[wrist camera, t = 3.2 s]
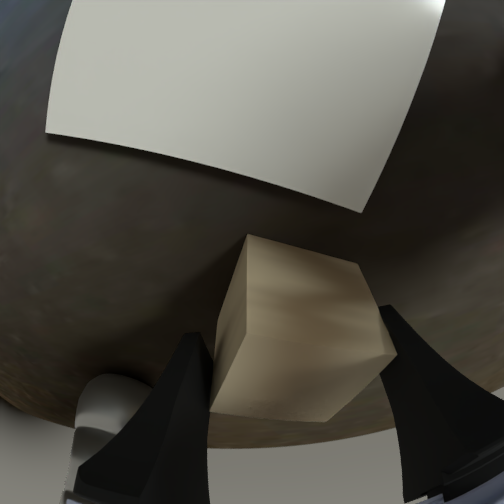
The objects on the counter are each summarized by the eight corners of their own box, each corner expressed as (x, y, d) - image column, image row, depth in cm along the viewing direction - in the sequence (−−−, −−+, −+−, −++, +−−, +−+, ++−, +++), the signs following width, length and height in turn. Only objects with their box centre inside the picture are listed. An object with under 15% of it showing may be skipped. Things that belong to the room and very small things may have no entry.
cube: (357, 263, 12) (397, 354, 8) (311, 337, 15) (325, 422, 11) (247, 233, 11) (246, 333, 7) (217, 319, 14) (209, 411, 10)
